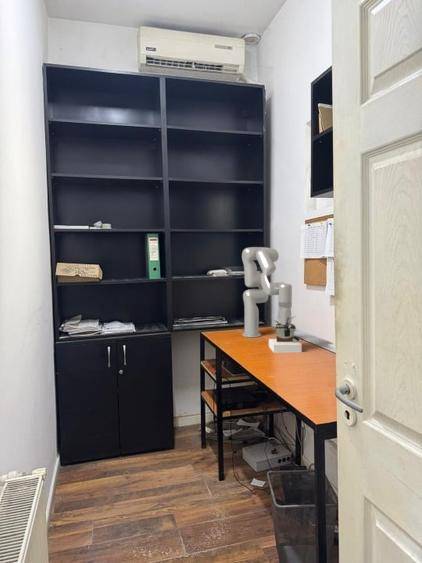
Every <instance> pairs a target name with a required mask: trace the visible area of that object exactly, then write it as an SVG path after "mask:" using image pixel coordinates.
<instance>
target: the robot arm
mask: <svg viewBox="0 0 422 563" xmlns="http://www.w3.org/2000/svg"><path fill="white" fill-rule="evenodd" d="M279 258H280V256H279V252H278V251H277V250H276V249H275V248H270V247H264V246H263V247H262V246H251V247H250V246H249V247H245V248H244V249H243V250H242V252H241V261H242V263H243V270H244V271H243V272H244V285H245V286H246V287H247V288H251V289H247V290H245V291H243V294H242V300H243V305H244V332H242V334H241V335H242V336H243V337H244V338H259V337H261V336H262V333H261V332H259V325H260V324H259V319H260V318H259V315H260V314H259V312H260V311H259V308H258V306H257V304H262V303H267V301H269V296H278V311H277V316H278V317H277V318H278V319H277V321H278V323H280V324H282V325H285V330H284V336H285V337H290V328H291V324H292V321H291V320H292V319H291V318H292V317H291V316H292V303H293V302H292V300H293V298H292V297H293V286H292V284H291V283H285V282H283V281H280V282H270V281H269V278H268V277H269V276H271V275H272V274H273V273H275V271H276V269H277V268H276V264H275V262H277V261H278V260H279ZM255 261H257V263H258V264H259V266H260V269H261V271H262V272H258V268H257V264H256V262H255ZM278 323H277V324H278ZM286 326H287V328H286Z"/></svg>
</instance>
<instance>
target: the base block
mask: <svg viewBox="0 0 422 563" xmlns="http://www.w3.org/2000/svg"><path fill="white" fill-rule="evenodd" d="M268 347H269V349H270V350H271V352H273V353H274V354H281V353H283V354H284V353H302V347H303V345H302V343H300V342H299V341H298V340H297V338H293V342H277V341H276V338H268Z"/></svg>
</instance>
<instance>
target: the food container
mask: <svg viewBox="0 0 422 563" xmlns="http://www.w3.org/2000/svg"><path fill="white" fill-rule="evenodd" d="M286 328H287V326H286ZM274 329H275V339H276V341H277V342H293V339H294V337H295V332H296V329H297V327H296V325H295V324H293V323H291V328H290V337H285V336H284V330H285V325H282V324H280V323H276V325H275V326H274Z"/></svg>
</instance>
